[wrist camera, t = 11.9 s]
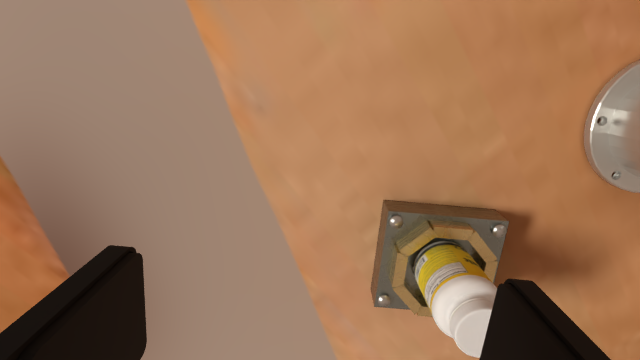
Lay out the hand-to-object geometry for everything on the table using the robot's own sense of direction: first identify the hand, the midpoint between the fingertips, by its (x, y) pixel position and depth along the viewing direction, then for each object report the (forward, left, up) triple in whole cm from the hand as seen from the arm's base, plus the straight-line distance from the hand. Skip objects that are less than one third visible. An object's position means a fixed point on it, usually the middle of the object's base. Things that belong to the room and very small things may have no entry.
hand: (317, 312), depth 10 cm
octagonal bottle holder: (-12, +11, -26) cm, 31 cm away
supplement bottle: (-12, +10, -24) cm, 28 cm away
